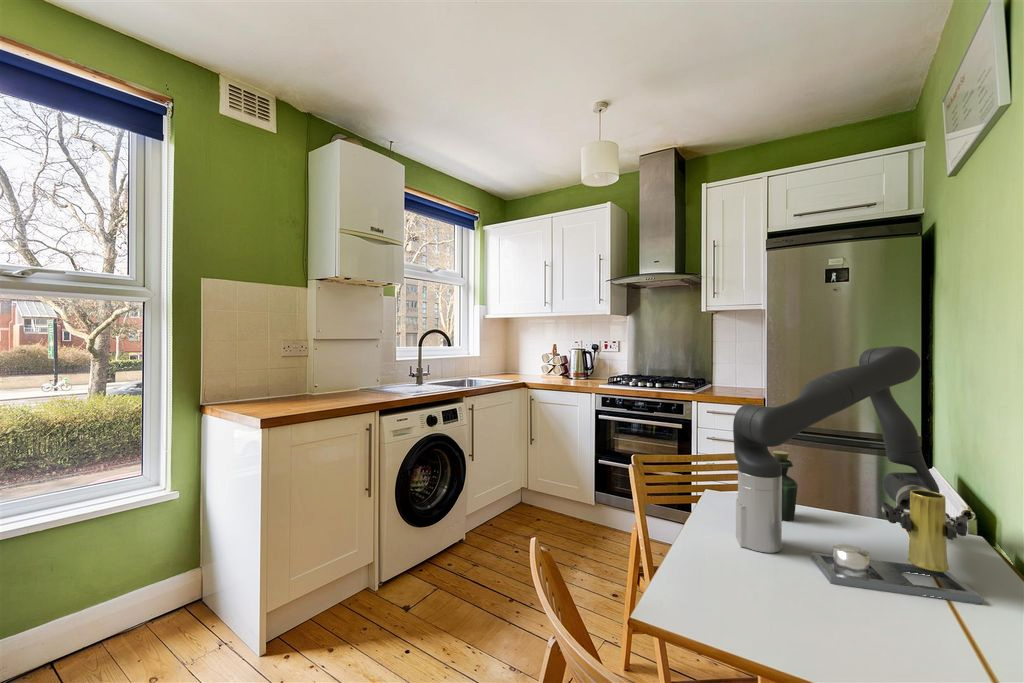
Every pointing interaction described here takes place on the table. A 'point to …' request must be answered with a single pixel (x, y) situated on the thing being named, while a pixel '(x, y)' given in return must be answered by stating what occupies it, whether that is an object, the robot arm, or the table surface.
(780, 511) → the robot arm
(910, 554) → the vase
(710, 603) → the table surface
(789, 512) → the potion bottle
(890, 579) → the grey rectangular frame
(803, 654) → the table surface
